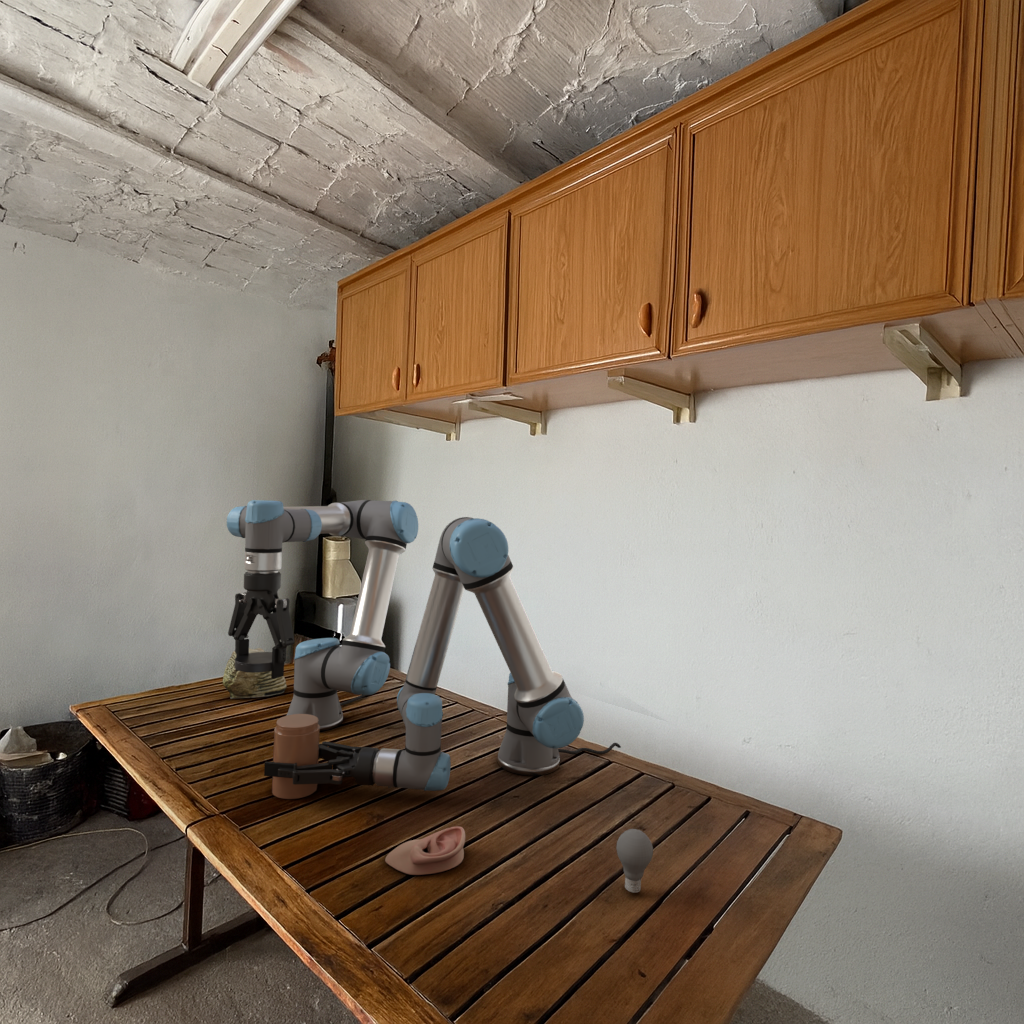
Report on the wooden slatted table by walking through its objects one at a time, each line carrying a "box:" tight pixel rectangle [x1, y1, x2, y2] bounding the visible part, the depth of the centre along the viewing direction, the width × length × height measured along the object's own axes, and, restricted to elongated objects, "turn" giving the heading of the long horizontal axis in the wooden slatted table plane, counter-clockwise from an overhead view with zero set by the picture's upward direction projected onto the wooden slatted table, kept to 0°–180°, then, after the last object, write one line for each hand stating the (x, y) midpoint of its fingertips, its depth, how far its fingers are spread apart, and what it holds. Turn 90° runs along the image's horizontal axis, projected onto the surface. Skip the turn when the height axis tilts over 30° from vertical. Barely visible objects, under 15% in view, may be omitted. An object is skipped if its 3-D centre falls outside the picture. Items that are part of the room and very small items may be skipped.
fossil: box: [222, 647, 288, 699], centre depth 198 cm, size 9×18×15 cm, turn 132°
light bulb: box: [615, 828, 654, 894], centre depth 106 cm, size 6×6×10 cm
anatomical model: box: [384, 826, 466, 876], centre depth 113 cm, size 13×4×12 cm
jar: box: [271, 714, 321, 800], centre depth 137 cm, size 9×9×15 cm
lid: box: [235, 651, 272, 673], centre depth 138 cm, size 10×10×2 cm
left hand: (259, 673), depth 138 cm, fingers closed on lid, 10 cm apart
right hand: (276, 758), depth 137 cm, fingers closed on jar, 9 cm apart
